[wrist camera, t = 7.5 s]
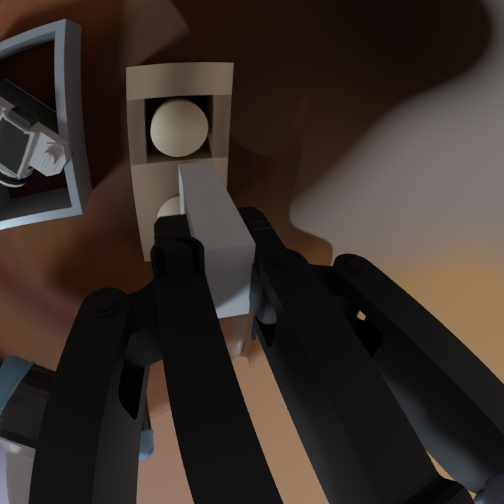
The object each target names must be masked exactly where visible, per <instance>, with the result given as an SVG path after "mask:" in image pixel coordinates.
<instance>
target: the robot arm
mask: <svg viewBox="0 0 504 504" xmlns="http://www.w3.org/2000/svg"><path fill="white" fill-rule="evenodd" d="M178 167H179V193H180V212H181V214H178V215H169V216H161V217H159V218H158V219H157V221H156V222H155V224H154V245H153V246H152V248H151V251H150V258H151V263H152V269H153V274H154V278H153V280H152V281H151V282H150V283H149V284H148V285H147V286H146V287H144V288H143V289H141V290H139V291H137V292H134V293H132V294H129V295H127V294H126V293H124V292H123V291H122V290H120V289H116V288H112V287H111V288H102V289H99V290H97V291H94V292H93V293H91V294H90V295H89V296H87V297H86V299H85V300H84V301H83V303H82V304H81V307H80V309H79V311H78V314H77V316H76V319H75V321H74V324H73V326H72V328H71V331H70V334H69V336H68V339H67V341H66V344H65V347H64V350H63V352H62V355H61V358H60V361H59V364H58V367H57V370H56V372H55V371H53V370H50V369H47V368H45V367H42V366H40V365H37V364H35V362H33V361H32V362H30V361H27V360H24V359H21V358H19V357H16V356H9V357H7V358H6V359H5V360H4V362H3V364H2V366H1V368H0V443H1V445H2V446H3V448H4V449H5V452H6V476H7V489H8V499H9V504H136V494H137V476H138V462H139V461H141V460H144V459H146V458H148V457H150V456H151V455H152V453H153V451H154V444H153V430H152V427H151V421H150V415H149V408H148V401H147V394H146V391H147V384H148V378H149V371H150V364H153V363H155V362H157V361H159V360H162V359H163V364H164V371H165V377H166V384H167V390H168V395H169V401H170V406H171V411H172V417H173V422H174V426H175V431H176V436H177V440H178V445H179V449H180V453H181V457H182V461H183V465H184V468H185V473H186V477H187V480H188V484H189V487H190V491H191V494H192V497H193V501H194V504H283V501H282V499H281V497H280V494H279V492H278V489H277V487H276V485H275V482H274V479H273V477H272V474H271V472H270V469H269V467H268V464H267V462H266V459H265V456H264V454H263V451H262V448H261V446H260V443H259V440H258V438H257V435H256V432H255V429H254V427H253V424H252V421H251V419H250V415H249V413H248V410H247V407H246V404H245V401H244V398H243V395H242V393H241V389H240V386H239V383H238V380H237V377H236V374H235V371H234V368H233V365H232V362H231V359H230V356H229V352H228V349H227V346H226V343H225V340H224V336H223V333H222V330H221V326H220V323H219V320H218V318H223V317H229V316H235V315H241V314H246V313H249V304H250V303H251V306H252V308H253V311H254V318H253V326H252V334H251V336H252V340H255V339H256V333H257V335H258V338H259V340H260V343H261V345H262V348H263V350H264V353H265V355H266V358H267V360H268V362H269V365H270V367H271V370H272V372H273V375H274V377H275V380H276V382H277V384H278V387H279V389H280V392H281V394H282V397H283V399H284V401H285V404H286V406H287V409H288V411H289V413H290V415H291V418H292V420H293V423H294V425H295V427H296V429H297V432H298V434H299V437H300V439H301V441H302V444H303V446H304V448H305V450H306V453H307V455H308V457H309V460H310V462H311V464H312V466H313V469H314V471H315V473H316V475H317V478H318V480H319V482H320V484H321V486H322V489H323V491H324V493H325V495H326V498H327V500H328V502H329V504H504V384H503V383H502V382H501V381H500V380H499V379H498V378H497V377H496V376H495V375H494V374H493V373H492V372H491V371H490V369H489V368H488V367H486V366H485V364H484V363H483V362H482V361H481V360H480V359H479V358H478V357H477V356H475V355H474V354H473V353H472V352H471V351H470V350H469V349H468V348H467V347H466V346H465V345H464V344H463V343H462V342H461V341H460V340H459V339H458V338H457V337H456V336H455V335H454V334H453V333H452V332H450V331H449V330H448V329H447V328H446V327H445V326H444V325H443V324H442V323H441V322H440V321H439V320H437V319H436V318H435V317H434V316H433V315H432V314H431V313H430V312H429V311H427V310H426V309H425V308H424V307H423V306H422V305H421V304H420V303H418V302H417V301H416V300H415V299H414V298H413V297H411V296H410V295H409V294H408V293H407V292H406V291H404V290H403V289H402V288H401V287H400V286H398V285H397V284H396V283H395V282H394V281H393V280H391V279H390V278H389V277H388V276H387V275H385V274H384V273H383V272H382V271H380V270H379V269H378V268H377V267H376V266H374V265H373V264H372V263H371V262H369V261H368V260H366V259H365V258H363V257H361V256H358V255H355V254H342V255H339V256H338V257H336V258H335V261H334V264H333V266H323V265H313V264H309V263H308V262H307V260H306V259H305V258H304V257H303V256H302V255H301V254H300V253H298V252H296V251H294V250H291V249H287V248H286V247H285V246H284V244H283V243H282V241H281V240H280V238H279V237H278V235H277V234H276V232H275V231H274V229H273V228H272V226H271V225H270V223H269V222H268V220H267V219H266V217H265V216H264V214H263V213H262V212H261V211H259V210H258V209H256V208H254V207H241V208H236V207H235V205H234V203H233V201H232V199H231V197H230V195H229V194H228V192H227V190H226V188H225V186H224V184H223V182H222V181H221V179H220V177H219V175H218V173H217V171H216V169H215V168H214V166H213V164H212V162H199V163H185V164H178ZM359 311H361V312H362V313H363V314H364V315H365V316H366V318H365V320H361V319H359V318H358V317H357V315H358V313H359ZM426 451H427V452H428V453H429V454H430V455H431V456H432V457H433V458H434V459H435V460H436V461H437V462H438V463H439V464H440V465H441V467H442V468H443V469H444V470H445V471H446V472H447V473H448V474H449V475H450V476H451V477H452V478H453V479H454V480H455V481H453V480H449V479H445V478H443V477H442V476H440V474H439V473H438V472H437V470H436V469H435V467H434V465H433V463H432V461H431V459H430V457H429V456H428V454H427V452H426ZM468 490H469V491H471V492H473V493H476V496H475V498H474V500H473V499H472V497H471V495H470V493H469V492H468Z"/></svg>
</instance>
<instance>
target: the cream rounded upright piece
mask: <svg viewBox="0 0 504 504" xmlns="http://www.w3.org/2000/svg"><path fill="white" fill-rule="evenodd" d="M207 133H208V121H207V118H206V116H205V114H204V113H203V112H202V110H201V109H200V108H199V107H198V106H197V105H196V104H195V103H194V102H193V101H192V100H191V99H190V98H189V97H187V96H170V97H165V98H163V99H162V100H160V101H159V102H158V104H157V105H156V107H155V109H154V112H153V117H152V123H151V138H152V141H153V143H154V145H155V146H156V148H157V149H158V150H159V151H161V152H162V153H164V154H166V155H169V156H173V157H181V156H186V155H189V154H191V153H193V152H195V151H196V150H197V149H199V148H200V147H201V145H202V144H203V143H204V141H205V139H206V137H207Z"/></svg>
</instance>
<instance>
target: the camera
mask: <svg viewBox="0 0 504 504" xmlns="http://www.w3.org/2000/svg"><path fill="white" fill-rule="evenodd" d="M82 142H83V139H82ZM72 155H73V152H72ZM69 158H70V152H69V146H68V142H67V141H65V140H64V139H62V138H61V137H59V130H58V121H57V112H56V111H54V110H53V109H51V108H50V107H48V106H47V105H45V104H44V103H42V102H41V101H39V100H38V99H36V98H34V97H33V96H31V95H30V94H28V93H27V92H25V91H24V90H22V89H21V88H19V87H18V86H16V85H15V84H13V83H11V82H10V81H8V80H7V79H4V78H1V79H0V183H1V184H3V185H6V186H10V187H20V186H23V185H24V184H26V183H27V182H29V180H30V179H31V177H32V173H33V172H32V171H33V169H34V168H35V169H36V170H38V171H39V172H41V173H43V174H44V175H46V176H51V175H55V174H59V173H60V172H61V171H62V170H63V168H64V167H65V165H66V163H67V161H68V160H69Z"/></svg>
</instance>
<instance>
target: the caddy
mask: <svg viewBox="0 0 504 504" xmlns="http://www.w3.org/2000/svg"><path fill="white" fill-rule="evenodd" d="M81 33H82V26H81V25H79V24H77V23H75V22H72V21H70V20H68V19H63V20H59V21H56V22H53V23H49V24H46V25H43V26H40V27H37V28H34V29H32V30H29V31H26V32H24V33H21V34H19V35H16V36H14V37H11V38H9V39H7V40H4V41H2V42H0V60H2V59H4V58H7V57H9V56H12V55H14V54H17V53H19V52H22V51H25V50H27V49H30V48H33V47H36V46H39V45H42V44H45V43H48V42H52V41H55V55H54V70H55V97H56V110H57V121H58V130H59V137H61V138H62V139H64V140H65V141H67V142H68V146H69V152H70V158H69V160H68V161H67V163H66V165H65V167H64V170H65V175H66V180H67V185H68V187H66V188H61V189H55V190H50V191H46V192H41V193H36V194H32V195H27V196H23V197H19V198H14V199H11V197H10V194H9V190H8V186H6V185H3V184H1V183H0V229H5V228H9V227H14V226H19V225H24V224H29V223H34V222H40V221H45V220H51V219H56V218H62V217H68V216H74V215H81V214H83V212H84V209H85V207H86V205H87V202H88V200H89V197H90V195H91V193H92V191H93V190H92V185H91V179H90V173H89V166H88V159H87V152H86V144H85V135H84V125H83V113H82V97H81ZM82 139H83V142H82ZM72 152H73V155H72Z"/></svg>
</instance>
